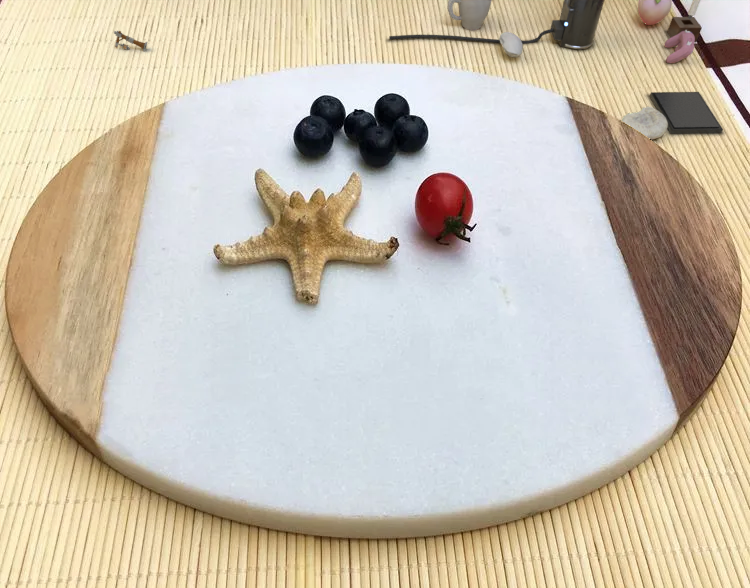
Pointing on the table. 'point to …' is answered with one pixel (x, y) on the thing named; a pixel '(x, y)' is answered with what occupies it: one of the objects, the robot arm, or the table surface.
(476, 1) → the mug
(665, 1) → the decorative fruit
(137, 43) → the wooden post with brackets
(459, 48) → the table surface
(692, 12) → the stylus
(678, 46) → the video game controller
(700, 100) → the tablet
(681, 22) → the pen block
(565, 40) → the robot arm
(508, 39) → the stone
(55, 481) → the table surface
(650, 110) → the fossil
